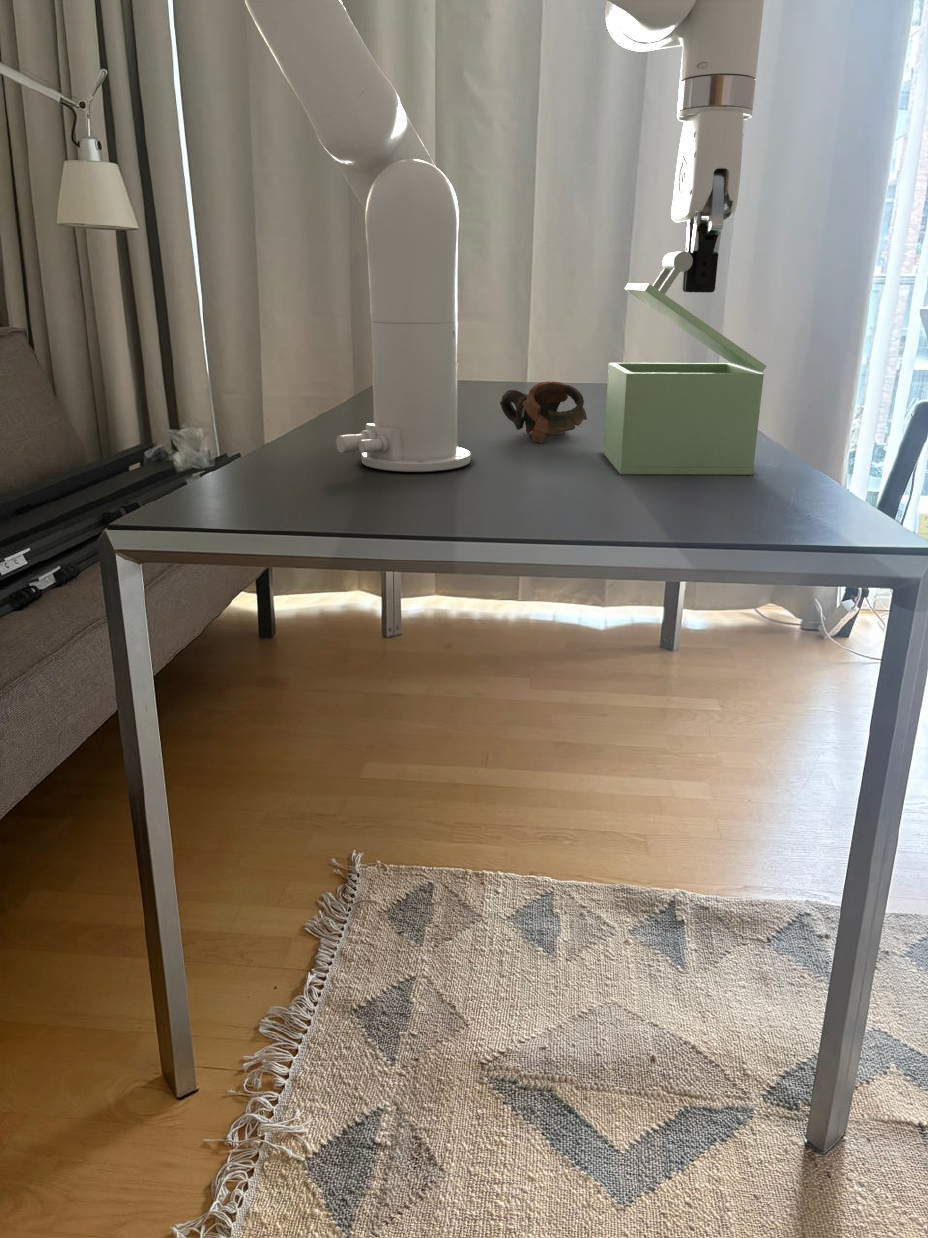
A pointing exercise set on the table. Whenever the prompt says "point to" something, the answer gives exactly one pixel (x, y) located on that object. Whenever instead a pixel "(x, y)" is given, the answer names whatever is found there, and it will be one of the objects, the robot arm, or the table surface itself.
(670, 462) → the chest
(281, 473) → the table surface
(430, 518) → the table surface
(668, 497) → the table surface
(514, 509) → the table surface
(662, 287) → the lid
